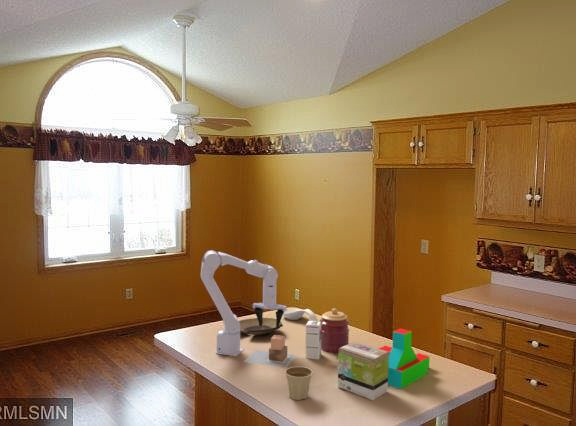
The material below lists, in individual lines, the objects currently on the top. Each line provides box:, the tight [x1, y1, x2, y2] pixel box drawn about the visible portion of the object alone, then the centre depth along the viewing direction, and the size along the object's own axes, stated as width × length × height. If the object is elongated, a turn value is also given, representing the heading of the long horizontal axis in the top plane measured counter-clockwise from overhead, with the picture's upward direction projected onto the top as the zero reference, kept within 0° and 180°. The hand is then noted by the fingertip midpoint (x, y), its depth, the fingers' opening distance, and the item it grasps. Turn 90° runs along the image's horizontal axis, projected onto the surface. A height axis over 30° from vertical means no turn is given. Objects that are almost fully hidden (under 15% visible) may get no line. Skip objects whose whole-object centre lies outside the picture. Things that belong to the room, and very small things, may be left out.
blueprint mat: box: [243, 349, 297, 368], centre depth 203 cm, size 18×14×1 cm
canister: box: [319, 307, 350, 354], centre depth 216 cm, size 13×13×18 cm
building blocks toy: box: [378, 327, 430, 390], centre depth 191 cm, size 19×25×18 cm
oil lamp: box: [238, 317, 284, 336], centre depth 237 cm, size 22×30×8 cm
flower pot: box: [284, 366, 314, 401], centre depth 169 cm, size 9×9×9 cm
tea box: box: [337, 341, 389, 401], centre depth 174 cm, size 15×10×15 cm, turn 48°
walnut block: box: [268, 345, 288, 362], centre depth 202 cm, size 6×6×4 cm
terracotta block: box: [270, 334, 286, 350], centre depth 202 cm, size 4×4×4 cm
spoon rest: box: [282, 308, 319, 321], centre depth 256 cm, size 24×12×7 cm, turn 39°
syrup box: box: [305, 320, 322, 360], centre depth 205 cm, size 6×6×14 cm
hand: (269, 326), depth 212 cm, fingers open, 7 cm apart
